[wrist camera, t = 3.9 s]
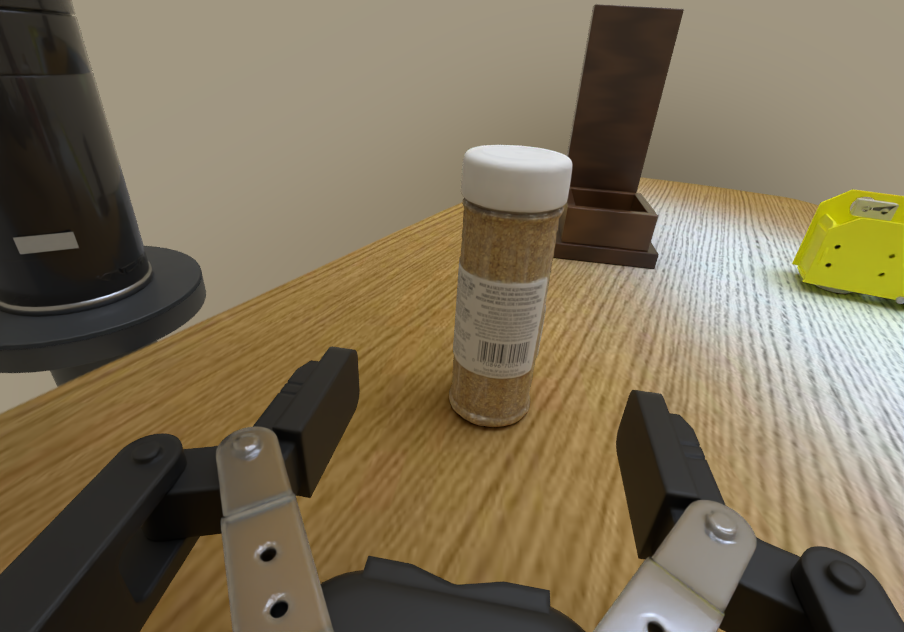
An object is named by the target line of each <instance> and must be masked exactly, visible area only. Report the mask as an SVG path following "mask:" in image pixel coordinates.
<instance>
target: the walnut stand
mask: <svg viewBox="0 0 904 632" xmlns="http://www.w3.org/2000/svg"><path fill="white" fill-rule="evenodd" d="M682 14H683V9H671V8H652V7H634V6H615V5H594V6H593V10H592V16H591V22H590V27H589V33H588V38H587V44H586V51H585V56H584V61H583V67H582V73H581V79H580V84H579V90H578V96H577V101H576V107H575V112H574V119H573V125H572V130H571V135H570V141H569V147H568V152H567V157H569V158H570V159H571V161H572V174H571V181H570V188H569V194H568V199H567V203H566V204H565V205H564V206H563V208H564V211H563V213H562V215H561V216H560V218H559V224H558V230H557V232H556V242H555V248H554V256H553V257H556V258H565V259H573V260H582V261H591V262H600V263H609V264H618V265H626V266H635V267H644V268H653V269H654V268H655V265H656V261H657V258H658V253H657V251H656V250H655V248H654V246H653V245H652V243H651V239H652V236H653V232H654V229H655V225H656V222H657V219H658V215H657V214H656V212H655V211H654V210H653V209H652V207H651V206H650V205H649V203H648V202H647V201H646V200H645V198H644V197H643V196H642V194H641V193H637V189H638V185H639V181H640V177H641V173H642V169H643V165H644V162H645V158H646V153H647V150H648V146H649V142H650V138H651V135H652V131H653V127H654V122H655V119H656V115H657V111H658V107H659V103H660V99H661V96H662V92H663V88H664V84H665V80H666V76H667V73H668V69H669V65H670V60H671V57H672V53H673V49H674V45H675V42H676V38H677V34H678V30H679V26H680V22H681V18H682Z"/></svg>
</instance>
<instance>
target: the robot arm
mask: <svg viewBox="0 0 904 632" xmlns="http://www.w3.org/2000/svg"><path fill="white" fill-rule="evenodd" d="M72 15H75V11H74V7H73V4H72V0H0V310H2V311H5V312H7V313H11V314H16V315H23V316H51V315H61V314H69V313H75V312H81V311H85V310H90V309H94V308H98V307H101V306H105V305H108V304H111V303H114V302H117V301H120V300H122V299H124V298H127V297H129V296H131V295H133V294H135V293H137V292H138V291H140V290H141V289H143V288H144V287H145V286H147V285H148V284H149V283H150V281H151V280H152V278H153V270H152V267H151V264H150V262H149V261H148V259H147V256H146V252H145V249H144V245H143V242H142V238H141V235H140V231H139V228H138V224H137V220H136V217H135V213H134V210H133V207H132V203H131V200H130V196H129V193H128V190H127V187H126V183H125V179H124V176H123V173H122V169H121V166H120V162H119V159H118V156H117V152H116V149H115V145H114V142H113V139H112V135H111V132H110V129H109V125H108V122H107V118H106V115H105V111H104V108H103V105H102V101H101V98H100V95H99V91H98V88H97V84H96V81H95V77H94V74H93V72H92V68H91V65H90V61H89V58H88V54H87V51H86V47H85V44H84V41H83V37H82V34H81V30H80V27H79V24H78V20H77V18H76V17H75V16H72ZM358 400H359V373H358V356H357V352H356V350H352V349H345V348H338V347H330V348H329V349H328V350H327V351H326V353H325V354H324V356H323V357H322V358H321V360H320V361H319V362H318V361H312V360H311V361H309V362H308V363H306V364H305V365H303V366H302V367H300V368H298V369H297V370H296V371H295V372H294V374H293V375H292V376H291V378H290V379H289V380H288V383H286V384H285V385H284V387H283V388H282V389H281V392H280V393H278V394H277V396H276V397H275V398H274V400H273V401H272V402H271V404H270V405H269V406H268V407H267V409H266V410H265V411H264V413H263V414H262V415H261V417H260V418H259V419H258V420H257V422H256V423H255V424H254V426H253V427H247V428H243V429H240V430H238V431H235V432H233V433H232V434H230V435H228V436H227V437H226V438H225V439H224V440H223V441H222V442H221V443H220V444H219V446H214V447H204V448H193V449H183V447H182V444H181V441H180V440H179V439H178V438H177V437H176V436H173V435H170V434H154V435H149V436H145V437H143V438H140V439H138V440H136V441H134V442H132V443H130V444H129V445H127V446H126V447H124V448H123V449H122V450H121V451H120V452H119V453H118V454H117V455H116V456H115V457H114V458H113V459H112V460H111V461H110V462H109V463H108V464H107V465H106V466H105V467H104V468H103V469H102V470H101V471H100V473H99V474H98V475H97V476H96V477H95V478H94V479H93V480H92V481H91V482H90V483H89V484H88V485H87V486H86V487H85V488H84V489H83V490H82V491H81V492H80V493H79V494H78V495H77V496H76V497H75V498H74V499H73V500H72V501H71V502H70V503H69V504H68V505H67V506H66V507H65V508H64V510H63V511H62V512H61V513H60V514H59V515H58V516H57V517H56V518H55V519H54V520H53V521H52V522H51V523H50V524H49V525H48V526H47V527H46V528H45V529H44V530H43V531H42V532H41V533H40V534H39V535H38V536H37V537H36V538H35V539H34V540H33V541H32V542H31V543H30V544H29V546H28V547H27V548H26V549H25V550H24V551H23V552H22V553H21V554H20V555H19V556H18V557H17V558H16V559H15V560H14V561H13V562H12V563H11V564H10V565H9V566H8V567H7V568H6V569H5V570H4V571H3V572H2V573H1V574H0V632H140V630H141V629H142V627H143V626H144V624H145V622H146V621H147V619H148V618H149V616H150V614H151V613H152V611H153V610H154V608H155V607H156V605H157V603H158V602H159V600H160V599H161V597H162V596H163V594H164V592H165V591H166V589H167V588H168V586H169V585H170V583H171V581H172V580H173V578H174V577H175V575H176V573H177V572H178V570H179V569H180V567H181V566H182V564H183V562H184V561H185V559H186V558H187V556H188V555H189V553H190V551H191V550H192V548H193V547H194V545H195V543H196V542H197V540H198V539H199V537H200V536H205V535H213V534H221V533H222V540H223V549H224V558H225V567H226V576H227V585H228V593H229V602H230V611H231V620H232V629H233V632H585V631H584V630H583V629H582V628H581V627H580V626H579V625H578V624H577V623H575V622H574V621H573V620H572V619H570V618H569V617H568V616H566V615H564V614H563V613H561V612H560V611H558V610H556V609H554V608H552V607H550V590H545V589H539V588H534V587H529V586H524V585H519V584H513V583H508V582H492V583H478V584H464V585H456V584H452V583H450V582H448V581H446V580H444V579H442V578H440V577H437V576H435V575H433V574H431V573H429V572H427V571H425V570H423V569H421V568H419V567H417V566H415V565H413V564H409V563H404V562H399V561H393V560H388V559H383V558H378V557H372V556H368V559H367V562H366V565H365V568H364V570H361V571H354V572H349V573H345V574H342V575H339V576H336V577H333V578H331V579H329V580H327V581H325V582H323V583H321V584H320V581H319V577H318V574H317V570H316V567H315V563H314V560H313V556H312V553H311V549H310V546H309V542H308V539H307V535H306V531H305V528H304V524H303V521H302V517H301V514H300V510H299V507H298V503H297V500H296V495H297V496H303V497H308V498H311V496H312V494H313V492H314V490H315V488H316V486H317V484H318V482H319V480H320V478H321V476H322V474H323V473H324V471H325V469H326V467H327V465H328V463H329V461H330V459H331V457H332V455H333V453H334V451H335V449H336V447H337V445H338V443H339V441H340V439H341V438H342V436H343V434H344V432H345V430H346V428H347V426H348V424H349V422H350V420H351V418H352V416H353V414H354V412H355V410H356V408H357V404H358ZM699 445H700V444H699V442H698V439H697V437H696V434H695V432H694V430H693V428H692V427H691V426H690V425H689V424H688V423H687V422H686V421H685V420H684V419H683V418H682V417H681V416H680V415H677V414H671V413H669V411H668V408H667V406H666V403H665V400H664V398H663V396H662V394H659V393H652V392H645V391H638V390H632V391H631V393H630V395H629V398H628V401H627V404H626V407H625V410H624V413H623V416H622V419H621V423H620V426H619V429H618V433H617V440H616V449H617V456H618V461H619V466H620V471H621V475H622V480H623V485H624V490H625V495H626V500H627V505H628V510H629V514H630V519H631V524H632V529H633V534H634V539H635V544H636V549H637V554H638V558H639V559H645V561H644V562H643V563H642V565H641V566H640V567H639V569H638V570H637V572H636V573H635V574H634V576H633V577H632V578H631V580H630V581H629V583H628V584H627V585H626V587H625V588H624V590H623V591H622V592H621V594H620V595H619V596H618V598H617V599H616V601H615V602H614V603H613V605H612V606H611V607H610V609H609V610H608V612H607V613H606V614H605V616H604V617H603V618H602V620H601V621H600V623H599V624H598V625H597V627H596V628H595V629H594V631H593V632H717V630H718V628H720V629H722V630H724V631H726V632H904V622H903V621H902V619H901V617H900V616H899V614H898V612H897V611H896V609H895V607H894V606H893V604H892V602H891V600H890V599H889V597H888V595H887V594H886V592H885V590H884V589H883V587H882V586H881V584H880V583H879V581H878V580H877V579H876V578H875V577H874V576H873V575H872V574H871V573H870V572H869V571H868V570H867V569H866V568H865V567H864V566H862V565H861V564H860V563H858V562H857V561H856V560H854V559H852V558H851V557H849V556H847V555H845V554H843V553H841V552H839V551H837V550H834V549H831V548H827V547H821V546H820V547H810V548H809V549H807V550H806V551H805V552H804V553H803V554H802V556H801V557H799V556H797V555H795V554H792V553H790V552H787V551H785V550H783V549H780V548H778V547H776V546H773V545H771V544H768V543H766V542H764V541H762V540H760V539H758V538H757V537H756V536H755V534H754V531H753V530H752V528H751V526H750V525H749V524H748V523H747V521H746V520H745V519H744V518H743V517H742V516H740V515H739V514H738V513H737V512H735V511H734V510H732V509H731V508H729V507H727V506H726V505H725V503H724V500H723V498H722V496H721V493H720V491H719V489H718V486H717V484H716V482H715V479H714V477H713V475H712V472H711V470H710V467H709V465H708V463H707V460H705V456H704V453H703V451H702V449H701V447H699Z"/></svg>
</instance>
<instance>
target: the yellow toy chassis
mask: <svg viewBox="0 0 904 632" xmlns="http://www.w3.org/2000/svg"><path fill="white" fill-rule="evenodd" d="M860 197H871V198H873V199H874V200H869V199H862V198H860ZM856 199H857V200H856ZM855 200H856V202H855V204H854V206H853V208H852V209H851V211H850V206H851V204H852V202H854V201H855ZM871 208H873V210H871ZM862 209H864V210H865V211H862ZM792 264H795V265H798V267H797V268H798V270H799V273H800V275H801V276H802V278H803V281H802V282H805V283H810V284H814V285H816V286H817V287H819V288H822V289H824V290H827V291H831V292H835V293H841V294H849V293H851V292H857V293H862V294H867V295H872V296H877V297H883V298H888V299H893V300H895V301H896V302H897V303H898V304H903V303H904V196H898V195H891V194H882V193H875V192H868V191H860V190H850V191H848V192H846V193H843V194H840V195H838V196H836V197H833V198H831V199H828V200H826V201H823V202H821V203H820V204H819V207H818V209H817V211H816V213H815V215H814V217H813V220H812V222H811V224H810V226H809V228H808V230H807V233H806V235H805V237H804V239H803V241H802V243H801V245H800V248H799V250H798V252H797V254H796V256H795V258H794V261H793V263H792Z"/></svg>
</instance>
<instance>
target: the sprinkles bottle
mask: <svg viewBox="0 0 904 632" xmlns="http://www.w3.org/2000/svg"><path fill="white" fill-rule="evenodd" d="M571 174H572V161H571V159H570V158H569V157H567V156H565V155H564V154H561V153H558V152H555V151H551V150H547V149H542V148H536V147H528V146H517V145H485V146H479V147H474V148H471V149H470V150H468V151H467V152H466V153H465V155H464V158H463V168H462V181H461V194H462V195H463V197H464V199H463V203H462V204H463V206H464V217H463V230H462V248H461V256H460V259H459V272H458V288H457V302H456V316H455V330H454V344H453V352H454V360H453V377H452V385H451V388H450V391H449V400H450V403H451V405H452V408H453V409H454V410H455V411H456V412H457V414H459V415H460V416H462V417H463V418H464V419H466V420H468V421H470V422H471V423H474V424H476V425H480V426H487V427H489V426H491V427H500V426H506V425H510V424H513V423H515V422H517V421H519V420H520V419H521V418H522V417H523V416H524V415H525V414H526V413H527V412H528V409H529V405H530V396H529V392H530V387H531V382H532V376H533V370H534V365H535V360H536V358H537V355H538V350H539V345H540V340H541V334H542V328H543V322H544V317H545V311H546V304H545V303H546V297H547V292H548V286H549V280H550V273H551V267H552V261H553V256H554V248H555V242H556V232H557V230H558V224H559V218H560V216H561V215H562V213H563V211H564V208H563V206H564V205H565V204H566V203H567V199H568V194H569V188H570V181H571Z"/></svg>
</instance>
